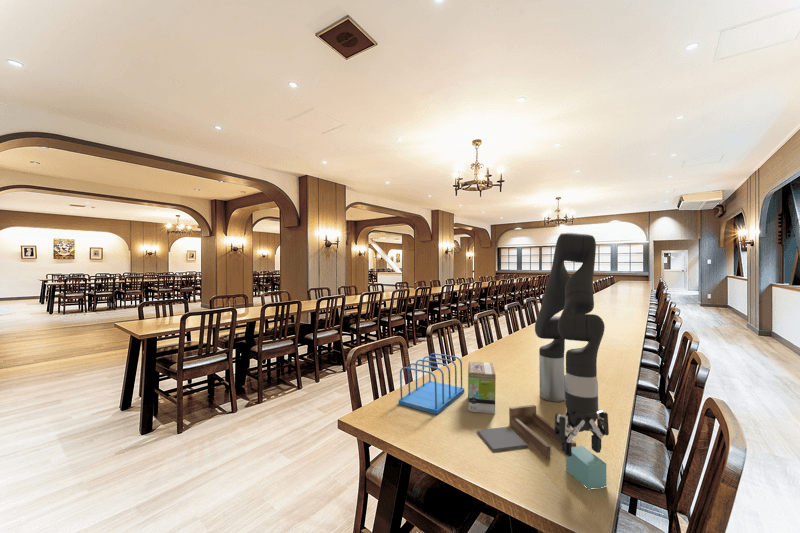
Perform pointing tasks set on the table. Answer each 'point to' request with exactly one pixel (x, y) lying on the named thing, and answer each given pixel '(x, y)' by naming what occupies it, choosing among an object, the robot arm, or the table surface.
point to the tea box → (481, 387)
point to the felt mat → (501, 439)
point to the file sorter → (431, 389)
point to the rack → (527, 416)
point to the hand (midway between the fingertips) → (581, 453)
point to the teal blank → (586, 467)
